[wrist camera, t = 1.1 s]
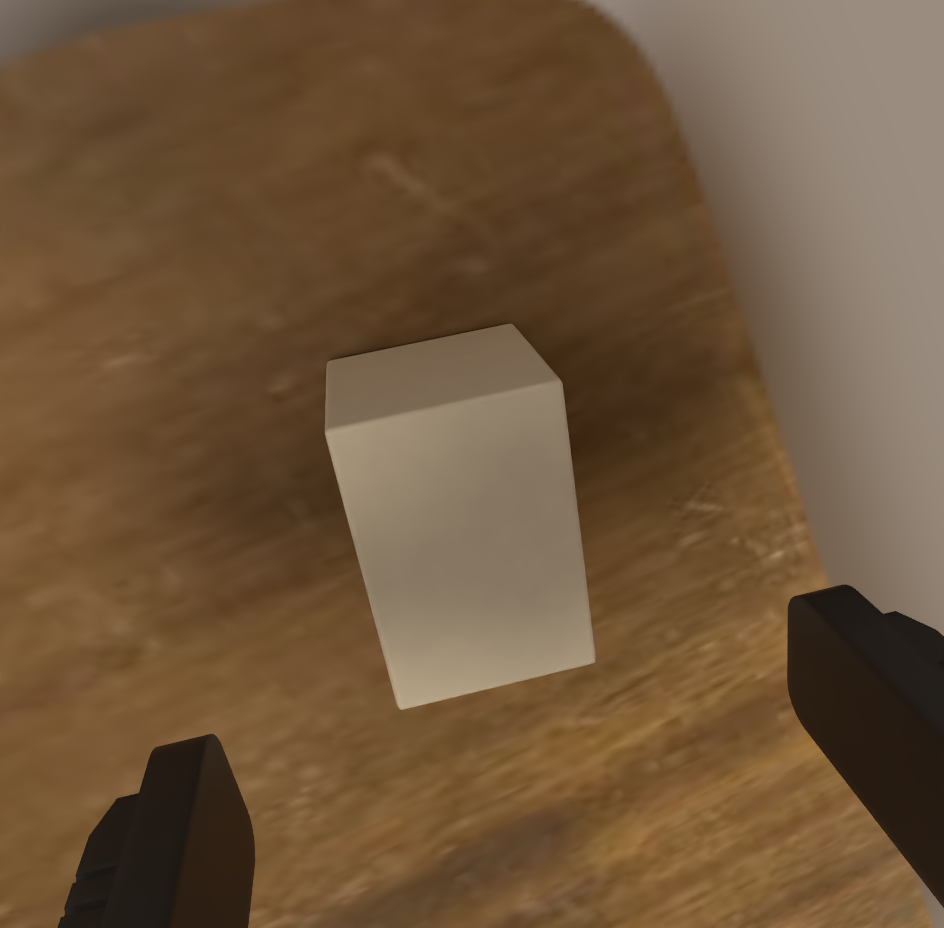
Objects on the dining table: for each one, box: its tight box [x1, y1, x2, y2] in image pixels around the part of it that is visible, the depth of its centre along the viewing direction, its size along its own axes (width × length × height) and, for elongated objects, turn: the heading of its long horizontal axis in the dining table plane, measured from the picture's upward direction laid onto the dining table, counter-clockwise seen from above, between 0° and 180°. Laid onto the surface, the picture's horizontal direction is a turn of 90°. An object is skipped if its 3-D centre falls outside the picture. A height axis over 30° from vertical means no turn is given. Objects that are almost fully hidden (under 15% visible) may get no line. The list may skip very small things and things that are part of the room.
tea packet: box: [325, 324, 596, 710], centre depth 16 cm, size 6×4×4 cm, turn 9°
